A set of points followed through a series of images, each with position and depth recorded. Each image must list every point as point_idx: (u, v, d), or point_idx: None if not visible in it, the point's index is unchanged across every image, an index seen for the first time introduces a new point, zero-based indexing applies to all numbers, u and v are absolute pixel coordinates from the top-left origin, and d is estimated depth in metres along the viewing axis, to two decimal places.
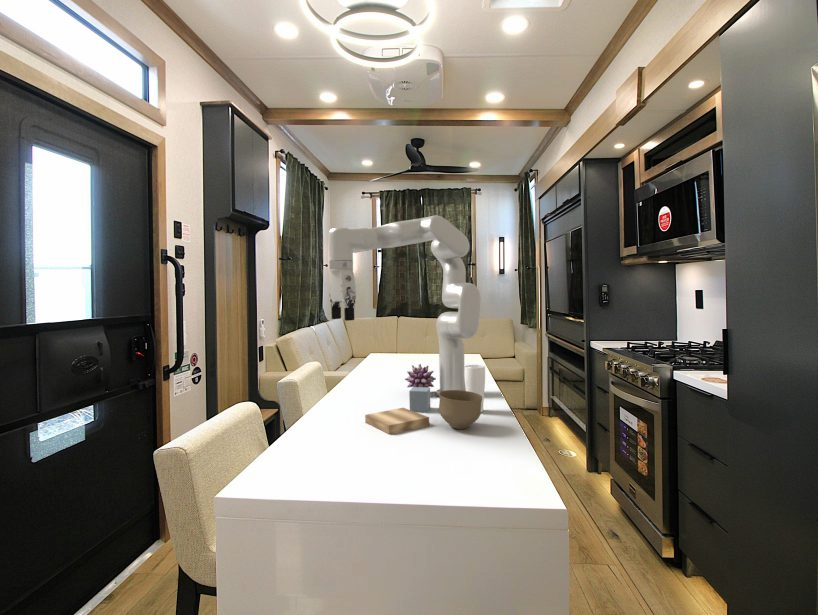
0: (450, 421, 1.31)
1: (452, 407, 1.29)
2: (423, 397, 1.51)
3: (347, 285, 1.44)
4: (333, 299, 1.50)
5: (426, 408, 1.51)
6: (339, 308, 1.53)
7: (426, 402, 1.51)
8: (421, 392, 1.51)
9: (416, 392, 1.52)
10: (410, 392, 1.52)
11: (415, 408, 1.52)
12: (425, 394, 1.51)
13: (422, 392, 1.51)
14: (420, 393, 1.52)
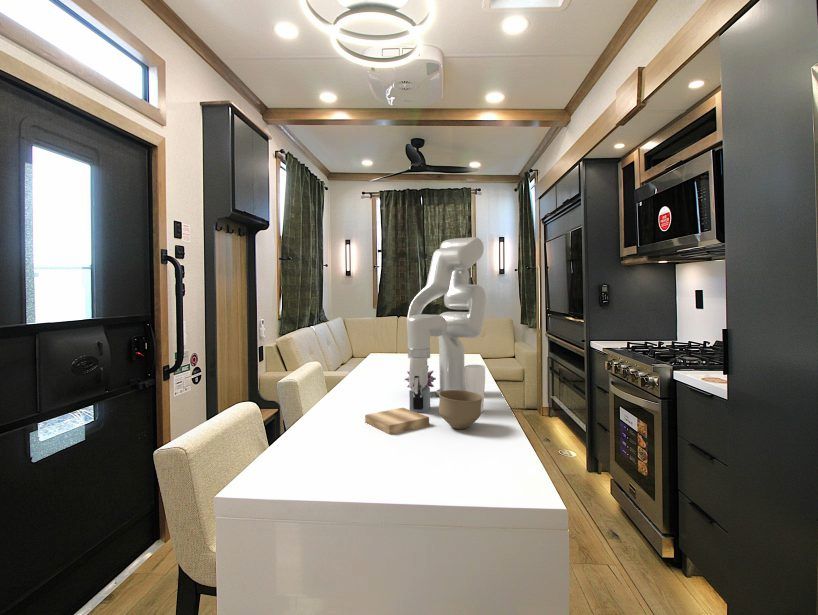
0: (450, 421, 1.31)
1: (452, 407, 1.29)
2: (423, 397, 1.51)
3: None
4: (424, 386, 1.52)
5: (426, 408, 1.51)
6: None
7: (426, 402, 1.51)
8: None
9: None
10: (410, 392, 1.52)
11: None
12: (425, 394, 1.51)
13: (422, 392, 1.51)
14: None
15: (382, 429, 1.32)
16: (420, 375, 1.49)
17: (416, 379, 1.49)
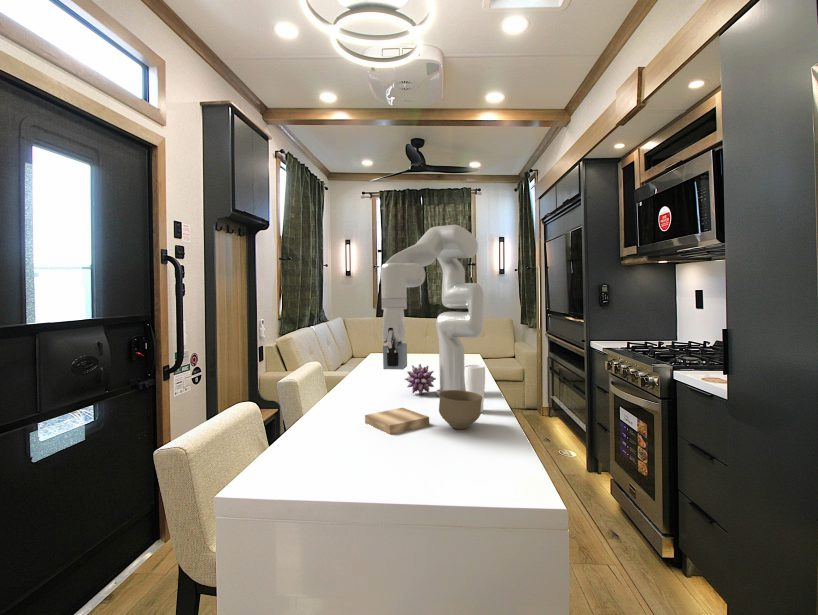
0: (450, 421, 1.31)
1: (452, 407, 1.29)
2: (398, 352, 1.35)
3: None
4: (399, 340, 1.35)
5: (401, 364, 1.35)
6: None
7: (401, 358, 1.35)
8: None
9: None
10: (384, 347, 1.36)
11: None
12: (400, 349, 1.35)
13: (397, 346, 1.35)
14: None
15: (382, 429, 1.32)
16: (394, 327, 1.33)
17: (390, 331, 1.33)
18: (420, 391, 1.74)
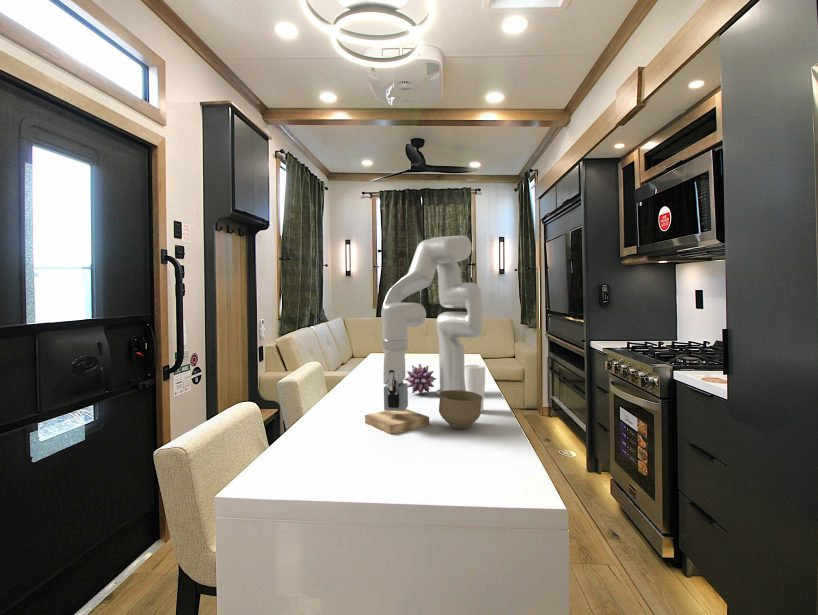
0: (450, 421, 1.31)
1: (452, 407, 1.29)
2: (399, 394, 1.35)
3: None
4: (400, 381, 1.36)
5: (402, 406, 1.35)
6: None
7: (402, 399, 1.35)
8: None
9: None
10: (384, 388, 1.36)
11: None
12: (401, 390, 1.35)
13: (398, 388, 1.35)
14: None
15: (383, 429, 1.32)
16: (395, 369, 1.33)
17: (391, 374, 1.33)
18: (420, 391, 1.74)
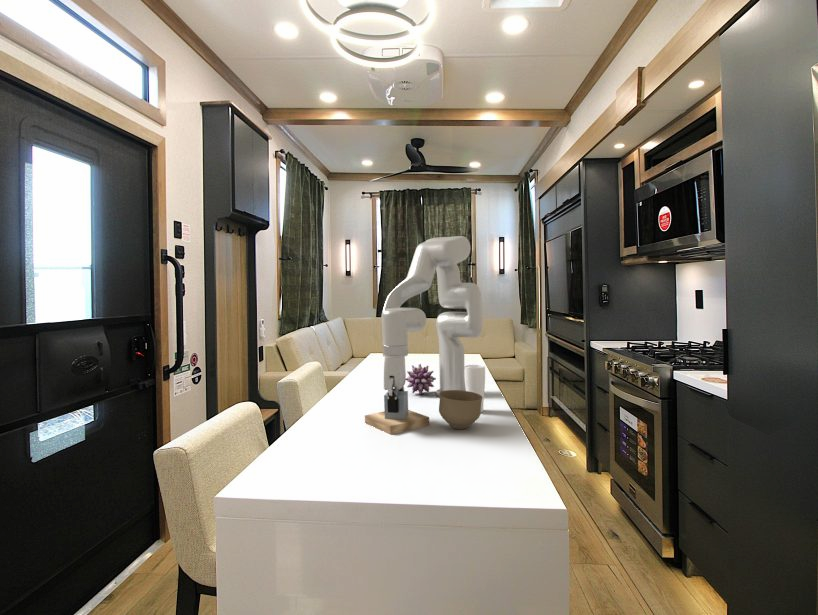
0: (450, 421, 1.31)
1: (452, 407, 1.29)
2: (399, 402, 1.35)
3: None
4: (401, 387, 1.36)
5: (403, 414, 1.35)
6: None
7: (403, 408, 1.35)
8: None
9: None
10: (385, 397, 1.36)
11: (390, 415, 1.36)
12: (401, 399, 1.35)
13: (398, 396, 1.35)
14: None
15: (383, 430, 1.32)
16: (396, 375, 1.33)
17: None
18: (420, 391, 1.74)
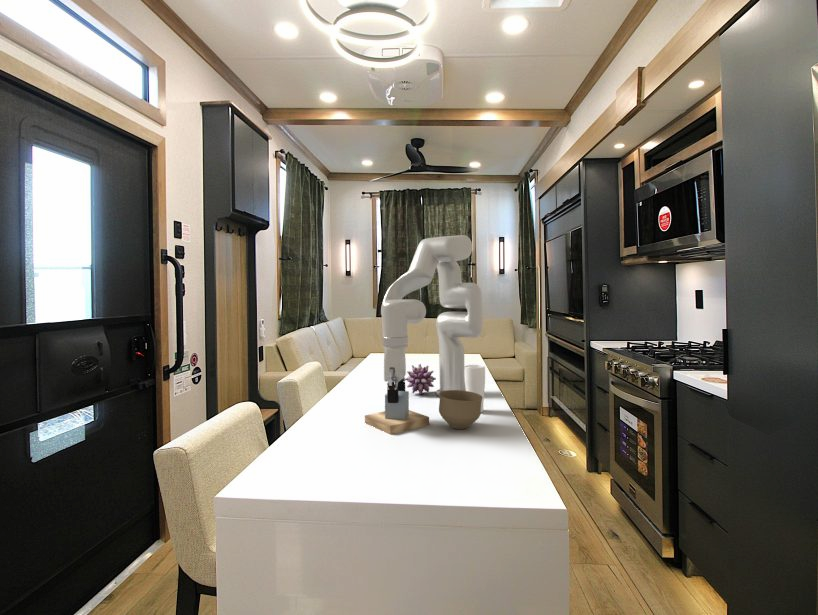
0: (450, 421, 1.31)
1: (452, 407, 1.29)
2: (400, 402, 1.35)
3: None
4: (401, 378, 1.36)
5: (403, 414, 1.35)
6: None
7: (403, 408, 1.35)
8: None
9: None
10: (386, 396, 1.36)
11: (391, 414, 1.36)
12: (402, 399, 1.35)
13: (399, 396, 1.35)
14: None
15: (383, 430, 1.32)
16: (396, 366, 1.33)
17: None
18: (420, 391, 1.74)
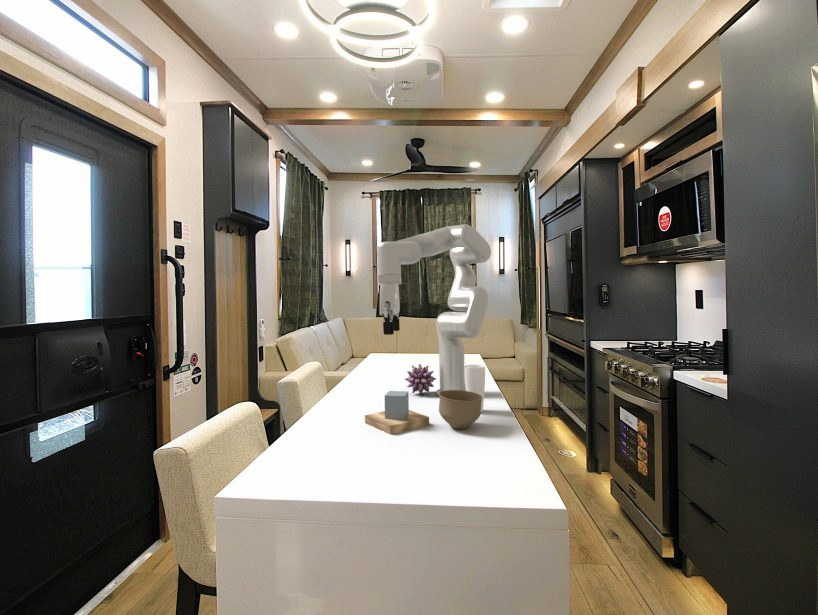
0: (450, 421, 1.31)
1: (452, 407, 1.29)
2: (400, 402, 1.35)
3: None
4: (395, 312, 1.47)
5: (403, 415, 1.35)
6: None
7: (403, 408, 1.35)
8: (397, 397, 1.35)
9: (392, 397, 1.36)
10: (385, 397, 1.36)
11: (390, 415, 1.36)
12: (402, 399, 1.35)
13: (399, 397, 1.35)
14: (397, 398, 1.35)
15: (383, 430, 1.32)
16: (391, 300, 1.44)
17: None
18: (420, 391, 1.74)
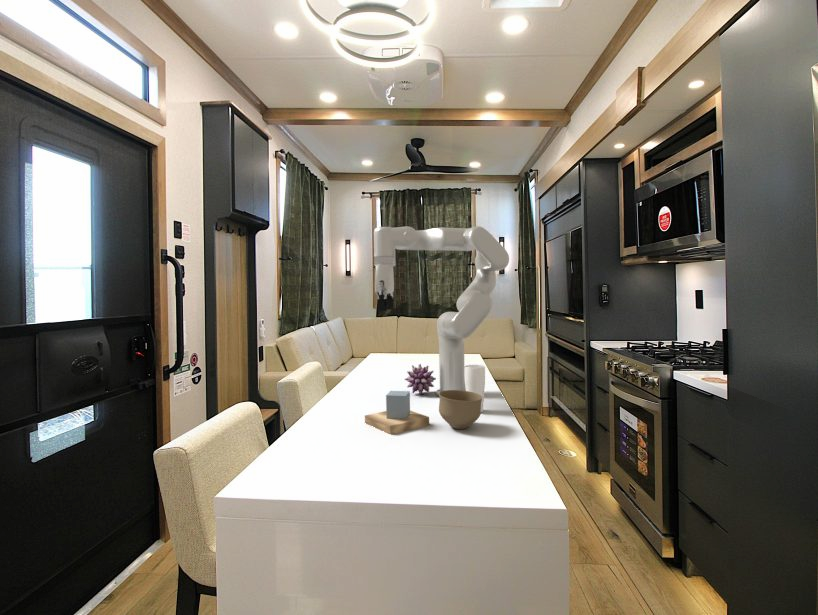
0: (450, 421, 1.31)
1: (452, 407, 1.29)
2: (401, 402, 1.36)
3: None
4: (389, 291, 1.62)
5: (405, 414, 1.36)
6: None
7: (405, 408, 1.35)
8: (399, 396, 1.36)
9: (393, 396, 1.36)
10: (387, 396, 1.36)
11: (392, 414, 1.36)
12: (403, 399, 1.35)
13: (400, 396, 1.36)
14: (398, 397, 1.36)
15: (383, 430, 1.32)
16: (385, 280, 1.60)
17: None
18: (420, 391, 1.74)
